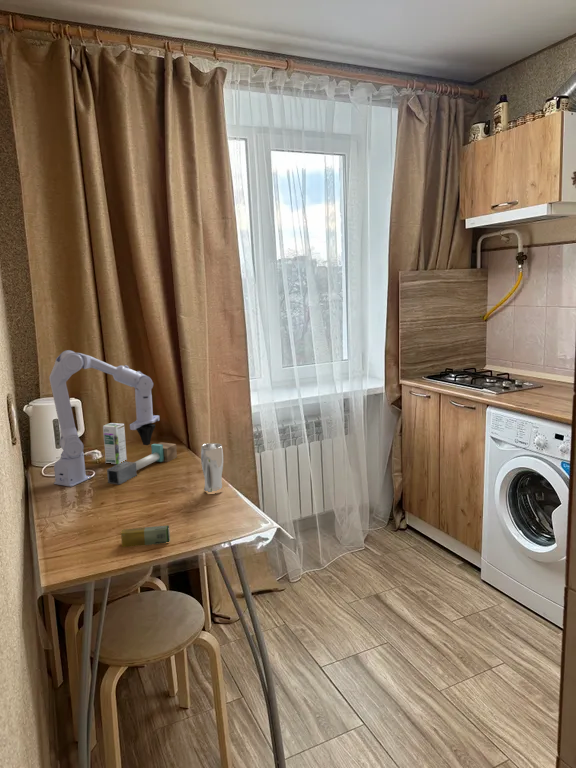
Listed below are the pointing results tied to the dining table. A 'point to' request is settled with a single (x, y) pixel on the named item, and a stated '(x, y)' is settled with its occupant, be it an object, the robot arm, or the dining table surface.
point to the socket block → (169, 451)
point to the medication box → (145, 536)
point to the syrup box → (114, 443)
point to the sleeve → (121, 472)
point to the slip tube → (151, 456)
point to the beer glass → (212, 466)
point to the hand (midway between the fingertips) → (146, 444)
